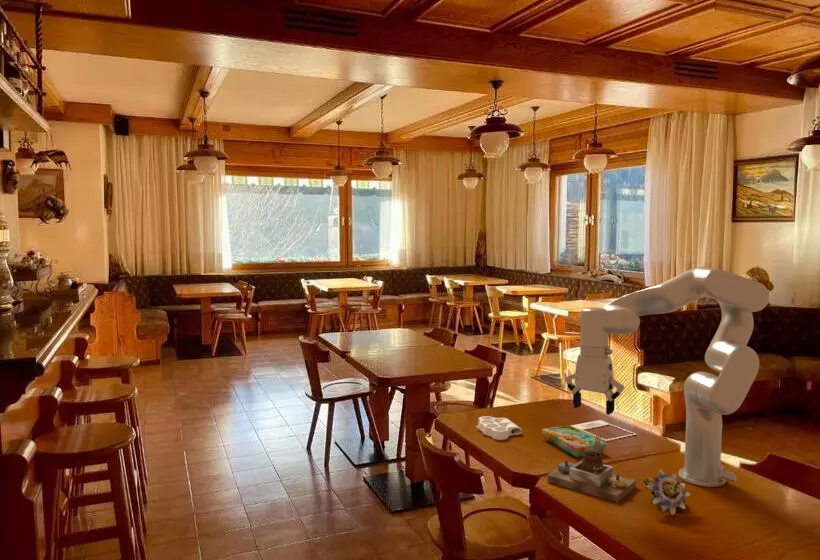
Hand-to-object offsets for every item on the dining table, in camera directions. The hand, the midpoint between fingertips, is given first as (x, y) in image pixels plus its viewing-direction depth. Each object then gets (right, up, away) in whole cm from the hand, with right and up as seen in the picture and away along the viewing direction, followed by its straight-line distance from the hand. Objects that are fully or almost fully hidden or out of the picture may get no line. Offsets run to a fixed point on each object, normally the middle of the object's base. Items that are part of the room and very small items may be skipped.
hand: (593, 410), depth 175 cm
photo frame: (+18, -18, +48) cm, 55 cm away
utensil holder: (0, -20, +2) cm, 20 cm away
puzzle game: (+3, -20, +33) cm, 38 cm away
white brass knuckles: (-21, -19, +49) cm, 56 cm away
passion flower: (+15, -23, -13) cm, 31 cm away
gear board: (0, -22, +2) cm, 22 cm away
